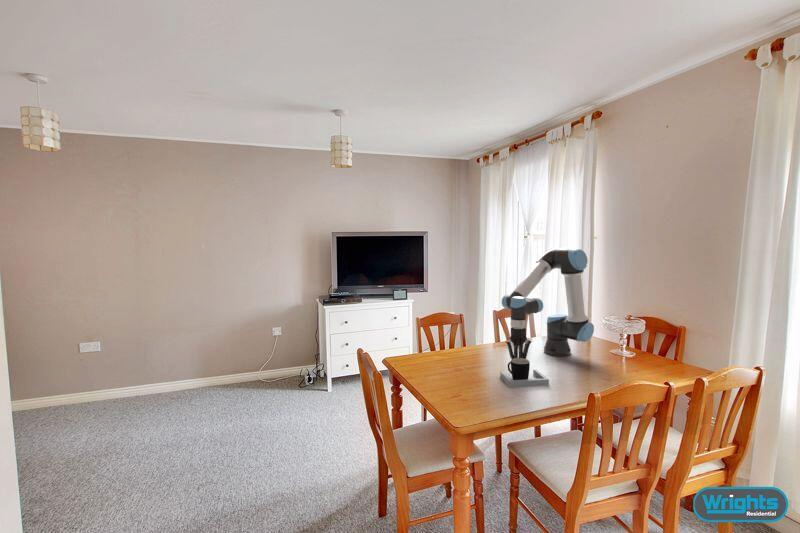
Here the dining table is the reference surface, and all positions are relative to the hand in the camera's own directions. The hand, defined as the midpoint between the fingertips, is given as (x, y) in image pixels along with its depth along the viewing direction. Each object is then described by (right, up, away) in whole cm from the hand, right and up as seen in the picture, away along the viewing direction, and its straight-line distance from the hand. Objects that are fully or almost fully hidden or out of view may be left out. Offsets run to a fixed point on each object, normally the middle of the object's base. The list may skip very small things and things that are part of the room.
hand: (518, 372), depth 194 cm
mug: (-2, -3, -5) cm, 6 cm away
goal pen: (+1, -3, -7) cm, 7 cm away
